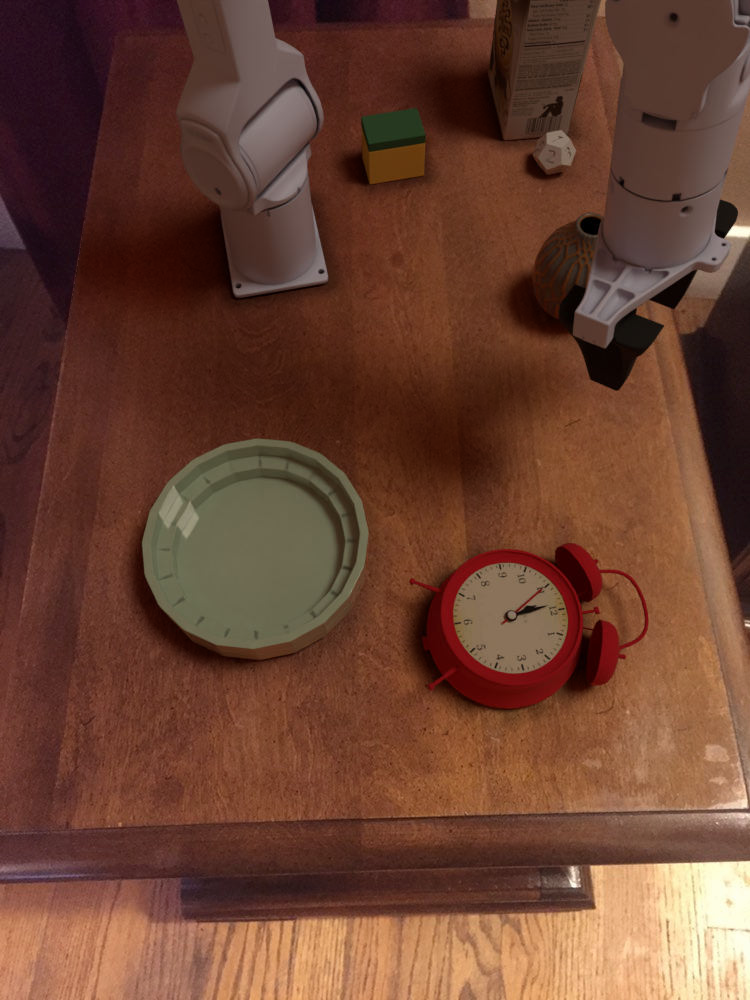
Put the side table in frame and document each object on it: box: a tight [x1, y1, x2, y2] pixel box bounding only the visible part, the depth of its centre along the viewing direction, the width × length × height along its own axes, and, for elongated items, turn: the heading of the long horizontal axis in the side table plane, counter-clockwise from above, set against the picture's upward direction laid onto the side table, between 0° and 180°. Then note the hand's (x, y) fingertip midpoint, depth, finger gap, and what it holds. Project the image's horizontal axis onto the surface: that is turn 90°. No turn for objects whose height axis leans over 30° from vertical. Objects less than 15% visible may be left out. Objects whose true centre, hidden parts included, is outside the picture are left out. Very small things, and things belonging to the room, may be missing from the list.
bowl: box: [141, 437, 371, 661], centre depth 57 cm, size 15×15×4 cm
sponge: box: [360, 107, 427, 185], centre depth 72 cm, size 5×3×4 cm
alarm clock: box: [408, 542, 650, 709], centre depth 54 cm, size 10×6×15 cm
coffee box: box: [487, 0, 602, 141], centre depth 70 cm, size 9×6×16 cm
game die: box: [532, 130, 577, 175], centre depth 73 cm, size 4×4×3 cm
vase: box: [532, 212, 604, 321], centre depth 63 cm, size 7×7×9 cm
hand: (634, 340), depth 53 cm, fingers open, 7 cm apart
